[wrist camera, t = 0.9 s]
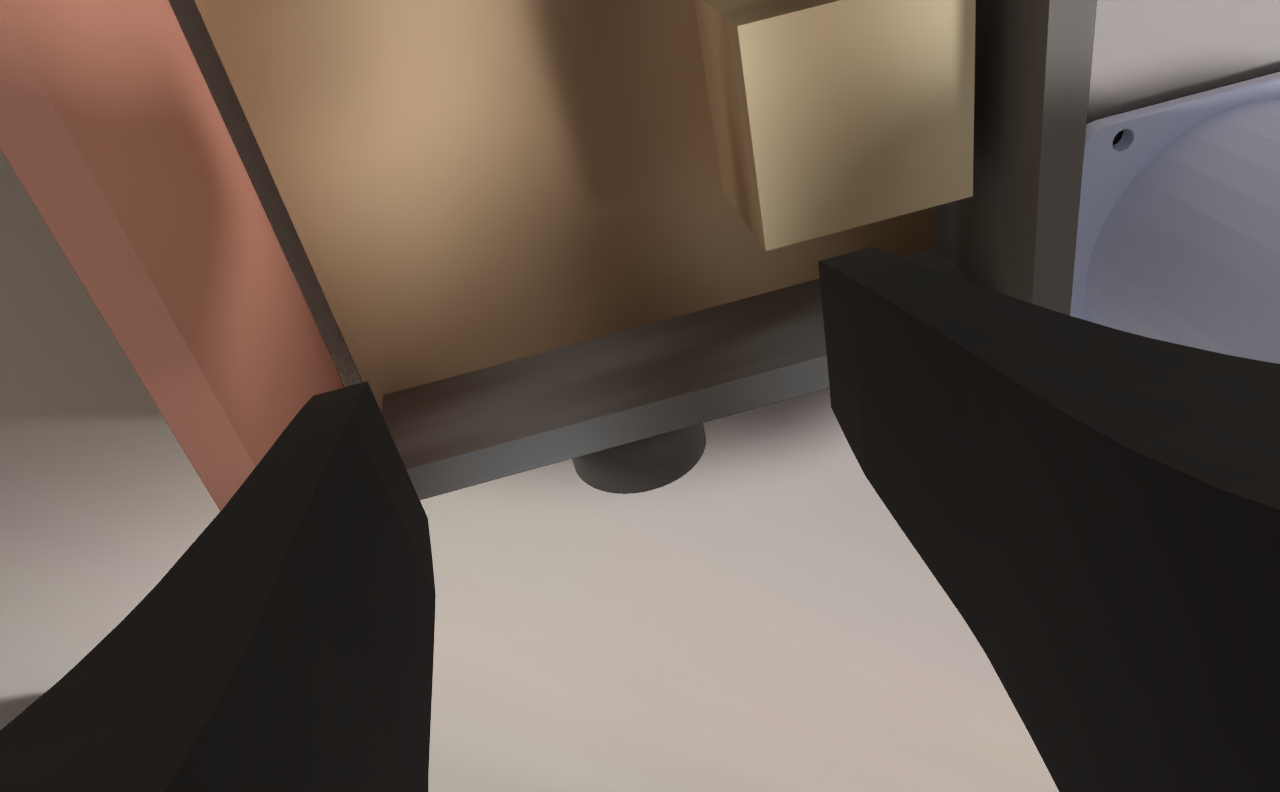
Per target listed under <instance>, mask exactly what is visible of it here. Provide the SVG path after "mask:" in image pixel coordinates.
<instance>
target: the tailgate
mask: <svg viewBox="0 0 1280 792" xmlns="http://www.w3.org/2000/svg"><path fill="white" fill-rule="evenodd" d="M0 149H1V151H2V152H3V154H4V155H5V157H6V159H7V160H8V162H9V164H10V165H11V167H12V169H13V170H14V172H15V174H16V175H17V177H18V179H19V180H20V182H21V183H22V185H23V187H24V188H25V190H26V192H27V193H28V195H29V197H30V198H31V200H32V202H33V203H34V205H35V207H36V208H37V210H38V211H39V213H40V215H41V216H42V218H43V220H44V221H45V223H46V225H47V226H48V228H49V230H50V231H51V233H52V235H53V236H54V238H55V239H56V241H57V243H58V244H59V246H60V248H61V249H62V251H63V253H64V254H65V256H66V258H67V259H68V261H69V263H70V264H71V266H72V268H73V269H74V271H75V272H76V274H77V276H78V277H79V279H80V281H81V282H82V284H83V286H84V287H85V289H86V291H87V292H88V294H89V296H90V297H91V299H92V300H93V302H94V304H95V305H96V307H97V309H98V310H99V312H100V314H101V315H102V317H103V319H104V320H105V322H106V324H107V325H108V327H109V328H110V330H111V332H112V333H113V335H114V337H115V338H116V340H117V342H118V343H119V345H120V347H121V348H122V350H123V352H124V353H125V355H126V356H127V358H128V360H129V361H130V363H131V365H132V366H133V368H134V370H135V371H136V373H137V375H138V376H139V378H140V380H141V381H142V383H143V384H144V386H145V388H146V389H147V391H148V393H149V394H150V396H151V398H152V399H153V401H154V403H155V404H156V406H157V408H158V409H159V411H160V412H161V414H162V416H163V417H164V419H165V421H166V422H167V424H168V426H169V427H170V429H171V431H172V432H173V434H174V436H175V437H176V439H177V440H178V442H179V444H180V445H181V447H182V449H183V450H184V452H185V454H186V455H187V457H188V459H189V460H190V462H191V464H192V465H193V467H194V468H195V470H196V472H197V473H198V475H199V477H200V478H201V480H202V482H203V483H204V485H205V487H206V488H207V490H208V492H209V493H210V495H211V496H212V498H213V500H214V501H215V503H216V505H217V506H218V508H219V510H220V511H221V510H222V509H223V508H224V507H225V505H226V504H227V503H228V502H229V500H230V499H231V498H232V496H233V495H234V494H235V493H236V491H237V490H238V489H239V488H240V486H241V485H242V484H243V482H244V481H245V480H246V479H247V477H248V476H249V475H250V474H251V472H252V471H253V470H254V469H255V467H256V466H257V465H258V463H259V462H260V461H261V460H262V458H263V457H264V456H265V454H266V453H267V452H268V451H269V449H270V448H271V447H272V445H273V444H274V443H275V441H276V440H277V439H278V438H279V436H280V435H281V434H282V432H283V431H284V430H285V428H286V427H287V426H288V425H289V423H290V422H291V421H292V420H293V418H294V417H295V416H296V415H297V413H298V412H299V411H300V410H301V409H302V407H303V406H304V405H305V404H306V403H307V402H308V401H309V400H310V399H311V397H312V396H314V395H318V394H321V393H325V392H329V391H333V390H336V389H340V388H344V387H345V386H344V384H343V382H342V380H341V377H340V375H339V373H338V371H337V369H336V366H335V364H334V362H333V360H332V358H331V355H330V353H329V351H328V349H327V347H326V345H325V342H324V340H323V338H322V336H321V334H320V331H319V329H318V327H317V325H316V323H315V320H314V318H313V316H312V314H311V312H310V309H309V307H308V305H307V303H306V301H305V299H304V296H303V294H302V292H301V290H300V288H299V285H298V283H297V281H296V279H295V277H294V274H293V272H292V270H291V268H290V266H289V263H288V261H287V259H286V257H285V255H284V253H283V250H282V248H281V246H280V244H279V242H278V239H277V237H276V235H275V233H274V231H273V228H272V226H271V224H270V222H269V220H268V217H267V215H266V213H265V211H264V209H263V207H262V204H261V202H260V200H259V198H258V196H257V193H256V191H255V189H254V187H253V185H252V182H251V180H250V178H249V176H248V174H247V171H246V169H245V167H244V165H243V163H242V161H241V158H240V156H239V154H238V152H237V150H236V147H235V145H234V143H233V141H232V139H231V136H230V134H229V132H228V130H227V128H226V125H225V123H224V121H223V119H222V117H221V115H220V112H219V110H218V108H217V106H216V104H215V101H214V99H213V97H212V95H211V93H210V90H209V88H208V86H207V84H206V82H205V79H204V77H203V75H202V73H201V71H200V69H199V66H198V64H197V62H196V60H195V58H194V55H193V53H192V51H191V49H190V47H189V44H188V42H187V40H186V38H185V36H184V33H183V31H182V29H181V27H180V25H179V23H178V20H177V18H176V16H175V14H174V12H173V9H172V7H171V5H170V3H169V1H168V0H0Z"/></svg>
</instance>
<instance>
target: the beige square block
mask: <svg viewBox="0 0 1280 792" xmlns="http://www.w3.org/2000/svg"><path fill="white" fill-rule="evenodd" d="M694 2H695V9H696V16H697V22H698V29H699V36H700V42H701V49H702V56H703V62H704V69H705V76H706V83H707V89H708V96H709V103H710V109H711V116H712V123H713V129H714V136H715V143H716V149H717V156H718V163H719V169H720V176H721V183H722V189H723V194H724V195H725V196H726V198H727V199H728V200H729V202H730V203H731V205H732V206H733V207H734V209H735V210H736V211H737V213H738V214H739V215H740V217H741V218H742V219H743V221H744V222H745V224H746V225H747V226H748V228H749V229H750V230H751V232H752V233H753V234H754V236H755V237H756V238H757V240H758V241H759V243H760V244H761V245H762V247H763V248H764V249H765V251H769V250H772V249H776V248H780V247H784V246H787V245H791V244H795V243H799V242H802V241H806V240H810V239H814V238H818V237H821V236H825V235H829V234H833V233H836V232H840V231H844V230H848V229H851V228H855V227H859V226H863V225H867V224H870V223H874V222H878V221H882V220H885V219H889V218H893V217H897V216H900V215H904V214H908V213H912V212H915V211H919V210H923V209H927V208H931V207H934V206H938V205H942V204H946V203H949V202H953V201H957V200H961V199H964V198H968V197H972V196H973V152H974V82H975V13H976V0H694Z"/></svg>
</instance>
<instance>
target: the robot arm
mask: <svg viewBox="0 0 1280 792" xmlns="http://www.w3.org/2000/svg"><path fill="white" fill-rule="evenodd" d="M1122 130H1123V135H1122V138H1121V139H1120V141H1119V142H1118V143H1117V144H1115V145H1112V143H1113V140H1114V137H1115V136H1116V135H1117V134H1118V132H1120V131H1122ZM818 266H819V277H820V288H821V299H822V310H823V321H824V331H825V342H826V353H827V364H828V375H829V386H830V397H831V408H832V410H833V412H834V414H835V416H836V418H837V420H838V422H839V424H840V426H841V428H842V430H843V432H844V435H845V437H846V439H847V441H848V443H849V445H850V447H851V449H852V451H853V453H854V455H855V457H856V459H857V460H858V462H859V464H860V466H861V468H862V470H863V472H864V474H865V476H866V477H867V479H868V480H869V482H870V483H871V485H872V486H873V488H874V489H875V491H876V492H877V494H878V495H879V497H880V498H881V500H882V501H883V502H884V504H885V505H886V507H887V508H888V510H889V511H890V513H891V514H892V516H893V517H894V519H895V520H896V522H897V523H898V524H899V526H900V527H901V529H902V530H903V532H904V533H905V535H906V536H907V537H908V539H909V540H910V542H911V543H912V545H913V546H914V548H915V549H916V550H917V552H918V553H919V555H920V556H921V558H922V559H923V560H924V562H925V563H926V565H927V566H928V568H929V569H930V571H931V572H932V573H933V575H934V576H935V578H936V579H937V581H938V582H939V584H940V585H941V586H942V588H943V589H944V591H945V592H946V594H947V595H948V596H949V598H950V599H951V601H952V602H953V604H954V605H955V607H956V608H957V609H958V611H959V612H960V614H961V615H962V617H963V618H964V620H965V621H966V623H967V624H968V626H969V628H970V629H971V631H972V632H973V634H974V635H975V637H976V639H977V640H978V642H979V643H980V645H981V647H982V648H983V650H984V651H985V653H986V655H987V656H988V658H989V660H990V662H991V664H992V666H993V667H994V669H995V671H996V673H997V675H998V677H999V678H1000V680H1001V682H1002V684H1003V686H1004V688H1005V690H1006V691H1007V693H1008V695H1009V697H1010V699H1011V701H1012V702H1013V704H1014V706H1015V708H1016V710H1017V712H1018V713H1019V715H1020V717H1021V719H1022V721H1023V723H1024V724H1025V726H1026V728H1027V730H1028V732H1029V734H1030V736H1031V738H1032V740H1033V741H1034V743H1035V745H1036V747H1037V749H1038V751H1039V753H1040V755H1041V757H1042V759H1043V761H1044V763H1045V765H1046V767H1047V768H1048V770H1049V772H1050V774H1051V776H1052V778H1053V780H1054V782H1055V784H1056V786H1057V788H1058V790H1059V792H1280V72H1277V73H1273V74H1269V75H1265V76H1262V77H1258V78H1254V79H1250V80H1246V81H1243V82H1239V83H1235V84H1231V85H1227V86H1224V87H1220V88H1216V89H1212V90H1208V91H1204V92H1201V93H1197V94H1193V95H1189V96H1185V97H1182V98H1178V99H1174V100H1170V101H1166V102H1163V103H1159V104H1155V105H1151V106H1147V107H1144V108H1140V109H1136V110H1132V111H1128V112H1125V113H1121V114H1117V115H1113V116H1109V117H1106V118H1102V119H1098V120H1095V121H1093V122H1090V123H1088V124H1087V125H1086V136H1085V147H1084V159H1083V171H1082V182H1081V194H1080V206H1079V218H1078V229H1077V241H1076V253H1075V265H1074V276H1073V288H1072V300H1071V312H1070V315H1066V314H1063V313H1059V312H1056V311H1053V310H1050V309H1047V308H1044V307H1041V306H1038V305H1035V304H1032V303H1029V302H1026V301H1023V300H1020V299H1017V298H1014V297H1011V296H1008V295H1006V294H1003V293H1000V292H997V291H994V290H992V289H989V288H986V287H983V286H980V285H978V284H975V283H972V282H970V281H967V280H964V279H961V278H959V277H956V276H953V275H951V274H948V273H945V272H943V271H940V270H937V269H935V268H932V267H929V266H927V265H924V264H921V263H919V262H916V261H913V260H910V259H907V258H905V257H902V256H899V255H896V254H893V253H890V252H887V251H883V250H880V249H876V248H872V247H869V248H865V249H861V250H857V251H854V252H850V253H846V254H842V255H839V256H835V257H831V258H827V259H824V260H820V261H818ZM434 622H435V585H434V574H433V563H432V553H431V544H430V535H429V526H428V518H427V516H426V514H425V511H424V509H423V507H422V504H421V502H420V500H419V498H418V495H417V493H416V491H415V488H414V486H413V484H412V482H411V479H410V477H409V475H408V472H407V470H406V468H405V466H404V463H403V461H402V459H401V456H400V454H399V452H398V450H397V447H396V445H395V443H394V440H393V438H392V436H391V434H390V431H389V429H388V427H387V424H386V422H385V420H384V418H383V415H382V413H381V411H380V408H379V406H378V404H377V402H376V399H375V397H374V395H373V392H372V390H371V388H370V386H369V383H368V381H366V382H363V383H359V384H355V385H351V386H348V387H344V388H340V389H336V390H333V391H329V392H325V393H321V394H318V395H314V396H312V397H311V399H310V400H309V401H308V402H307V403H306V404H305V405H304V406H303V407H302V409H301V410H300V411H299V412H298V413H297V415H296V416H295V417H294V418H293V420H292V421H291V422H290V423H289V425H288V426H287V427H286V428H285V430H284V431H283V432H282V434H281V435H280V436H279V438H278V439H277V440H276V441H275V443H274V444H273V445H272V447H271V448H270V449H269V451H268V452H267V453H266V454H265V456H264V457H263V458H262V460H261V461H260V462H259V463H258V465H257V466H256V467H255V469H254V470H253V471H252V472H251V474H250V475H249V476H248V477H247V479H246V480H245V481H244V482H243V484H242V485H241V486H240V488H239V489H238V490H237V491H236V493H235V494H234V495H233V496H232V498H231V499H230V500H229V502H228V503H227V504H226V505H225V507H224V508H223V509H222V510H221V512H220V513H219V514H218V515H217V516H216V518H215V519H214V520H213V521H212V522H211V523H210V524H209V526H208V527H207V528H206V529H205V530H204V531H203V532H202V534H201V535H200V536H199V537H198V538H197V539H196V541H195V542H194V543H193V544H192V545H191V546H190V547H189V549H188V550H187V551H186V552H185V553H184V554H183V556H182V557H181V558H180V559H179V560H178V561H177V562H176V564H175V565H174V566H173V567H172V568H171V569H170V570H169V572H168V573H167V574H166V575H165V576H164V577H163V579H162V580H161V581H160V582H159V583H158V584H157V585H156V586H155V587H154V588H153V590H152V591H151V592H150V593H149V594H148V595H147V596H146V597H145V598H144V599H143V600H142V601H141V602H140V603H139V604H138V605H137V606H136V607H135V608H134V609H133V610H132V611H131V612H130V613H129V614H128V616H127V617H126V618H125V619H124V620H123V621H122V622H121V623H120V624H119V625H118V626H117V627H116V628H115V629H113V630H112V631H111V632H110V633H109V634H108V635H107V636H106V637H105V638H104V639H103V640H102V641H101V642H100V643H99V644H98V645H97V646H96V647H95V648H94V649H93V650H92V651H91V652H90V653H89V654H87V655H86V656H85V657H84V658H83V659H82V660H81V661H80V662H79V663H78V664H77V665H76V666H75V667H74V668H73V669H72V670H71V671H69V672H68V673H67V674H66V675H65V676H64V677H63V678H62V679H61V680H60V681H58V682H57V683H56V684H55V685H54V686H53V687H51V688H50V689H49V690H48V691H47V692H46V693H44V694H43V695H42V696H41V697H40V698H38V699H37V700H36V701H35V702H34V703H33V704H31V705H30V706H29V707H28V708H27V709H25V710H24V711H23V712H22V713H21V714H20V715H18V716H17V717H16V718H15V719H14V720H13V721H11V722H10V723H9V724H8V725H7V726H5V727H4V728H3V729H2V730H1V731H0V792H428V766H429V743H430V720H431V697H432V674H433V650H434Z"/></svg>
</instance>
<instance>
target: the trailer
mask: <svg viewBox="0 0 1280 792" xmlns="http://www.w3.org/2000/svg"><path fill="white" fill-rule="evenodd" d="M194 1H195V3H196V5H197V8H198V10H199V12H200V14H201V17H202V19H203V21H204V23H205V26H206V28H207V30H208V33H209V35H210V37H211V39H212V42H213V44H214V46H215V48H216V51H217V53H218V55H219V57H220V60H221V62H222V64H223V66H224V69H225V71H226V73H227V76H228V78H229V80H230V82H231V85H232V87H233V89H234V91H235V94H236V96H237V98H238V100H239V103H240V105H241V107H242V110H243V112H244V114H245V116H246V119H247V121H248V123H249V125H250V128H251V130H252V132H253V134H254V137H255V139H256V141H257V144H258V146H259V148H260V150H261V153H262V155H263V157H264V159H265V162H266V164H267V166H268V168H269V171H270V173H271V175H272V178H273V180H274V182H275V184H276V187H277V189H278V191H279V193H280V196H281V198H282V200H283V202H284V205H285V207H286V209H287V211H288V214H289V216H290V218H291V221H292V223H293V225H294V227H295V230H296V232H297V234H298V236H299V239H300V241H301V243H302V245H303V248H304V250H305V252H306V255H307V257H308V259H309V261H310V264H311V266H312V268H313V270H314V273H315V275H316V277H317V279H318V282H319V284H320V286H321V289H322V291H323V293H324V295H325V298H326V300H327V302H328V304H329V307H330V309H331V311H332V313H333V316H334V318H335V320H336V323H337V325H338V327H339V329H340V332H341V334H342V336H343V338H344V341H345V343H346V345H347V347H348V350H349V352H350V354H351V356H352V359H353V361H354V363H355V366H356V368H357V370H358V372H359V375H360V377H361V379H362V381H363V382H366V381H368V383H369V386H370V388H371V390H372V392H373V395H374V397H375V399H376V402H377V404H378V406H379V408H380V411H381V413H382V415H383V418H384V420H385V422H386V424H387V427H388V429H389V431H390V434H391V436H392V438H393V440H394V443H395V445H396V447H397V450H398V452H399V454H400V456H401V459H402V461H403V463H404V466H405V468H406V470H407V472H408V475H409V477H410V479H411V482H412V484H413V486H414V488H415V491H416V493H417V495H418V498H419V500H422V499H426V498H429V497H433V496H437V495H440V494H444V493H447V492H451V491H455V490H458V489H462V488H466V487H469V486H473V485H477V484H480V483H484V482H488V481H491V480H495V479H499V478H502V477H506V476H510V475H513V474H517V473H520V472H524V471H528V470H531V469H535V468H539V467H542V466H546V465H550V464H553V463H557V462H561V461H564V460H568V459H572V460H573V463H574V466H575V469H576V472H577V473H578V475H579V477H580V478H581V479H582V480H583V481H584V482H586V483H587V484H588V485H590V486H592V487H594V488H596V489H599V490H602V491H606V492H611V493H623V494H627V493H639V492H645V491H649V490H653V489H656V488H659V487H662V486H665V485H667V484H669V483H671V482H673V481H675V480H677V479H679V478H680V477H682V476H683V475H685V474H686V473H687V472H688V471H690V470H691V469H692V468H693V467H694V466H695V465H696V463H697V462H698V461H699V459H700V458H701V456H702V454H703V452H704V449H705V444H706V437H705V431H704V426H703V422H707V421H710V420H714V419H718V418H721V417H725V416H729V415H732V414H736V413H739V412H743V411H747V410H750V409H754V408H758V407H761V406H765V405H769V404H772V403H776V402H780V401H783V400H787V399H791V398H794V397H798V396H802V395H805V394H809V393H813V392H816V391H820V390H823V389H827V388H830V386H829V375H828V364H827V353H826V342H825V331H824V321H823V310H822V299H821V288H820V277H819V266H818V261H820V260H824V259H827V258H831V257H835V256H839V255H842V254H846V253H850V252H854V251H857V250H861V249H865V248H869V247H872V248H876V249H880V250H883V251H887V252H890V253H893V254H896V255H899V256H902V257H905V258H907V259H910V260H913V261H916V262H919V263H921V264H924V265H927V266H929V267H932V268H935V269H937V270H940V271H943V272H945V273H948V274H951V275H953V276H956V277H959V278H961V279H964V280H967V281H970V282H972V283H975V284H978V285H980V286H983V287H986V288H989V289H992V290H994V291H997V292H1000V293H1003V294H1006V295H1008V296H1011V297H1014V298H1017V299H1020V300H1023V301H1026V302H1029V303H1032V304H1035V305H1038V306H1041V307H1044V308H1047V309H1050V310H1053V311H1056V312H1059V313H1063V314H1066V315H1070V312H1071V300H1072V288H1073V276H1074V265H1075V253H1076V241H1077V229H1078V218H1079V206H1080V194H1081V182H1082V171H1083V159H1084V147H1085V136H1086V124H1087V112H1088V100H1089V89H1090V77H1091V65H1092V53H1093V42H1094V30H1095V18H1096V6H1097V0H976V13H975V82H974V152H973V196H972V197H968V198H964V199H961V200H957V201H953V202H949V203H946V204H942V205H938V206H934V207H931V208H927V209H923V210H919V211H915V212H912V213H908V214H904V215H900V216H897V217H893V218H889V219H885V220H882V221H878V222H874V223H870V224H867V225H863V226H859V227H855V228H851V229H848V230H844V231H840V232H836V233H833V234H829V235H825V236H821V237H818V238H814V239H810V240H806V241H802V242H799V243H795V244H791V245H787V246H784V247H780V248H776V249H772V250H769V251H765V249H764V248H763V247H762V245H761V244H760V243H759V241H758V240H757V238H756V237H755V236H754V234H753V233H752V232H751V230H750V229H749V228H748V226H747V225H746V224H745V222H744V221H743V219H742V218H741V217H740V215H739V214H738V213H737V211H736V210H735V209H734V207H733V206H732V205H731V203H730V202H729V200H728V199H727V198H726V196H725V195H724V194H723V189H722V183H721V176H720V169H719V163H718V156H717V149H716V143H715V136H714V129H713V123H712V116H711V109H710V103H709V96H708V89H707V83H706V76H705V69H704V62H703V56H702V49H701V42H700V36H699V29H698V22H697V16H696V9H695V2H694V0H194Z"/></svg>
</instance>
